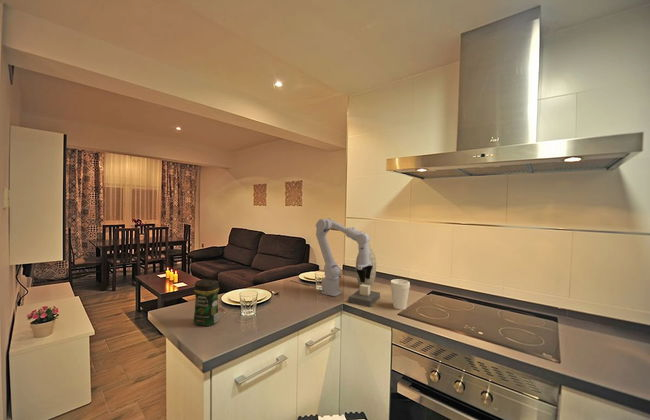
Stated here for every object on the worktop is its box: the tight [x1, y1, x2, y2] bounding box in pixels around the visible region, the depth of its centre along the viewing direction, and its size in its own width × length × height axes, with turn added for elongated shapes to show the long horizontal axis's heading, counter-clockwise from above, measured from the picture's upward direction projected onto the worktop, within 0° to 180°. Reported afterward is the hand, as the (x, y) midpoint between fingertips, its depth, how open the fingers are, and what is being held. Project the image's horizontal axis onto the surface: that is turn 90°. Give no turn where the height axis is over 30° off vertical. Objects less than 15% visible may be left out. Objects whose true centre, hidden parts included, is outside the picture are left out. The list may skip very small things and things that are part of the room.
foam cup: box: [390, 278, 411, 310], centre depth 136 cm, size 10×9×13 cm
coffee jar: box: [193, 278, 220, 327], centre depth 115 cm, size 10×8×19 cm
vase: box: [355, 243, 377, 289], centre depth 169 cm, size 13×13×28 cm
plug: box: [359, 284, 371, 296], centre depth 146 cm, size 5×3×8 cm
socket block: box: [348, 288, 381, 308], centre depth 146 cm, size 12×16×3 cm
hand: (365, 280), depth 146 cm, fingers open, 7 cm apart
